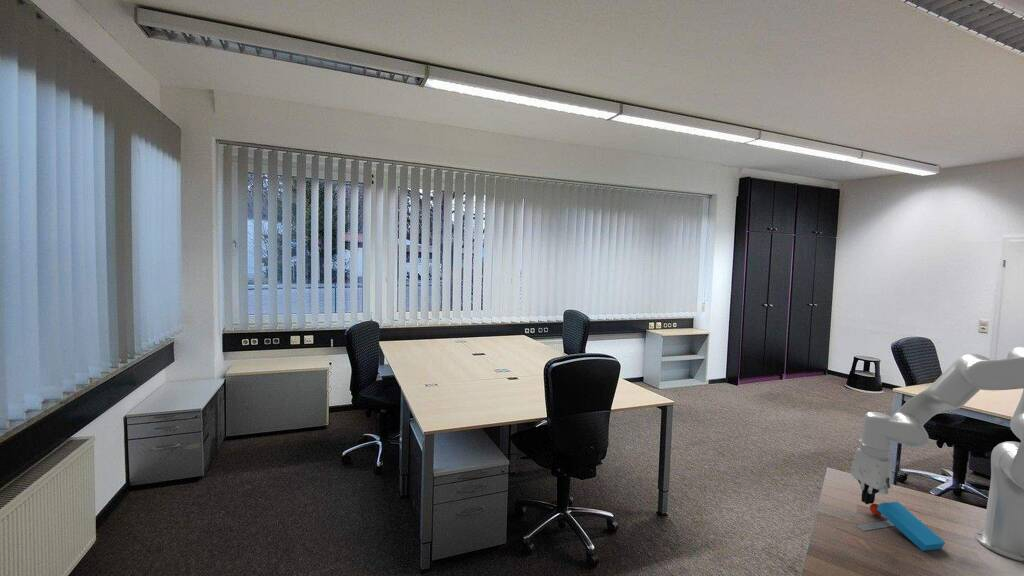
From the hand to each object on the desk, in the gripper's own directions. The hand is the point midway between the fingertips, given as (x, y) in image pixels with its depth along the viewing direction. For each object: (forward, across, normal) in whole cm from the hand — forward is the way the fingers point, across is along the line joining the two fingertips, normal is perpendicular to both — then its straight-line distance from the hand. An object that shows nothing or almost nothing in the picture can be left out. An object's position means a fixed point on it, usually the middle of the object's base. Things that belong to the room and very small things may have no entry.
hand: (867, 502), depth 144 cm
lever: (+3, +10, 0) cm, 11 cm away
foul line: (+3, +7, 0) cm, 8 cm away
